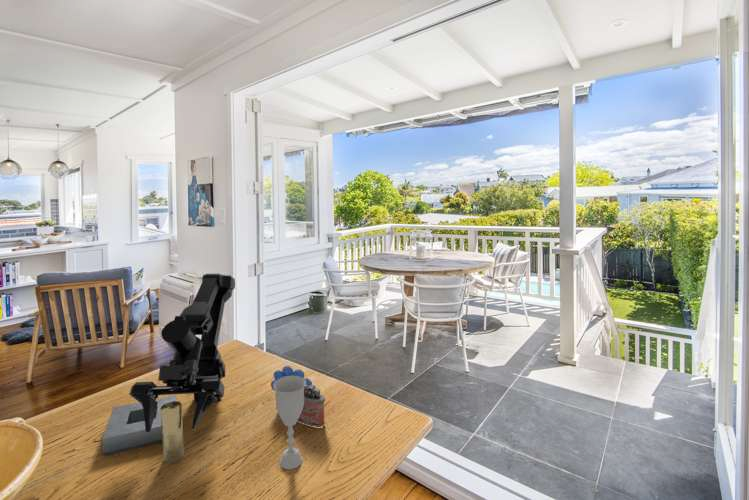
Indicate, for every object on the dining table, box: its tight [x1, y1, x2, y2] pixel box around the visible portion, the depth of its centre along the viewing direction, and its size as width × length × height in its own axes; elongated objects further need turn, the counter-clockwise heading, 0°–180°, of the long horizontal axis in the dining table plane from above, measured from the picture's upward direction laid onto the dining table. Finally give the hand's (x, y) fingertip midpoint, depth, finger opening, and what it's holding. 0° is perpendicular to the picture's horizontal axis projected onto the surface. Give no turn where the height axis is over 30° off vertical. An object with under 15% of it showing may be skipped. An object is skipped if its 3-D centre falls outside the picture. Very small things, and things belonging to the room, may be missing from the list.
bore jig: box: [101, 394, 177, 456], centre depth 92 cm, size 14×14×4 cm
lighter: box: [298, 384, 326, 427], centre depth 96 cm, size 8×3×10 cm, turn 65°
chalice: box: [273, 376, 306, 470], centre depth 81 cm, size 7×7×18 cm
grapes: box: [270, 365, 313, 392], centre depth 102 cm, size 12×7×12 cm, turn 87°
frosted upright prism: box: [161, 400, 185, 464], centre depth 82 cm, size 4×4×12 cm
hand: (170, 430), depth 81 cm, fingers open, 9 cm apart
